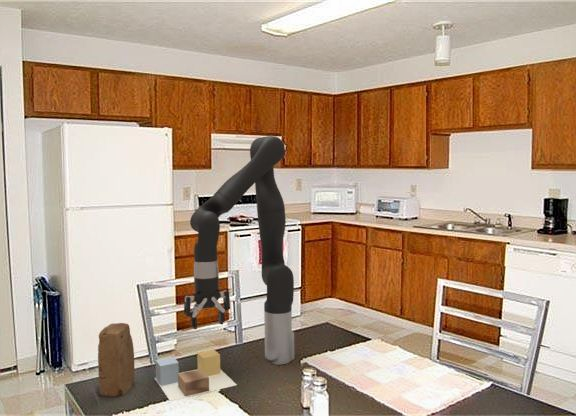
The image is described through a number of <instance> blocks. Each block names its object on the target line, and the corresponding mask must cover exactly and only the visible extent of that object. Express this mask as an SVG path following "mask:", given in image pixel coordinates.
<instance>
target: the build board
mask: <svg viewBox="0 0 576 416" xmlns="http://www.w3.org/2000/svg"><path fill="white" fill-rule="evenodd" d="M193 370H194V369H192V370H191V371H193ZM195 370H198V368H197V369H195ZM188 371H189V370H188ZM188 371H186V372H188ZM184 372H185V371H183V372H181V373H184ZM208 377H209V391H206V392H202V393H198V394H194V395H189V396H185V395H184V394H183V393H182V391H181V390H180V389H179V387H178V382H176V383H172V384H167V385H163V386H161V385H160V384H159V383H158V381H157V380H156V377H154V380H155V381H156V383H157V384H158V386H159V387H160V388H161V390H162V391H163V393H164V394H165V396H166V397H167V399H168V400H169V402H173V401H177V400H180V399H181V400H182V399H185V398H188V397H193V396H198V395H201V394H205V393H210V392H213V391H214V392H215V391H219V390H224V389H227V388H231V387H235V386H238V384H237V383H236V382H235V381H233V379H232V378H230V376H228V375H227V374H226V373H225V372H224V371H223V370H222V369H221V368H220V374H216V375H211V376H208Z"/></svg>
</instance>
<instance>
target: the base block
mask: <svg viewBox="0 0 576 416" xmlns="http://www.w3.org/2000/svg"><path fill="white" fill-rule="evenodd" d="M197 369H198V368H197ZM192 370H193V371H192ZM192 370H188V372H187V371H183V372H184V373H182V372H179V374H178V387H179V389H180V390H181V391H182V393H183V394H184V395H185V396H189V395H194V394H198V393H202V392H206V391H209V377H208V376H207V375H206V374H205V373H204V372H203V371H202V370H201V369H198V370H196V369H192ZM206 393H207V392H206ZM202 394H203V393H202ZM198 395H199V394H198ZM194 396H195V395H194ZM189 397H190V396H189Z"/></svg>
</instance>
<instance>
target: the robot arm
mask: <svg viewBox="0 0 576 416" xmlns="http://www.w3.org/2000/svg"><path fill="white" fill-rule="evenodd" d="M249 148H250V149H249V157H250V161H249V162H247V164H245V165H244V167H242V168H240V169H239V170H238V171H237V172H236V173H234V174H233V175H231V177H229V178H228V179H227V180H226V181H225V182H224V183H223V184H222V185H221V186H220V187H219V188H218V189H217V190H216V192H215V193H214V194H213V195H212V196H211V197H210V198H209V199H207V200H206V201H205V202H204V203H202V205H200V206H199V207H198V208H196V210H195V211H194V212H193V213H192V214H191V217H190V219H189V224H190V227H191V228H192V229H193V230H194V231H195V232H197V234H198V235H197V242H195V244H194V246H193V255H194V257H193V258H194V262H193V280H194V281H193V282H194V285H193V287H194V292H193V295H185V296H184V297H183V300H184V302H183V314H184V316H186V317H190V327H191V328H192V329H193V330H198V318H197V316H198V314H199V312H200V311H201V310H202V309H208V308H214V307H216V309H218V312H217V313H218V315H217V318H218V324H219V325H223V324H224V322H225V321H226V316H225V312H226V311H229V310H231V302H230V301H231V300H230V292H229V291H228V290H226V289H223V290H222V291H220V280H219V279H220V277H219V275H220V271H219V264H218V242H219V237H220V229H221V223H220V220H219V217H221V216H222V215H223V214H226V213H228V212H230V211H231V210H232V209H233V207H235V205H236V204H237V203H238V202H239V201H240V200H241V199H242V197H243V196H244V195H245V194H246V193H247V192H248V190H250V189H251V187H253V185H255V187H254V188H255V198H256V211H257V225H258V231H259V238H260V245H261V279H262V282H263V283H264V284H265V286H266V299H265V302H264V305H263V307H264V308H263V310H264V312H263V313H264V314H263V317H264V318H263V319H264V320H263V321H264V322H263V323H264V360H265V361H267V362H268V363H269V364H271V365H275V366H276V365H286V364H289V363H290V362H292V361H295V332H294V331H293V325H292V324H293V322H292V321H293V319H292V318H293V316H292V313H293V312H292V307H293V306H292V305H293V304H294V296H295V295H294V292H295V290H294V288H295V286H294V284H295V283H294V282H295V281H294V273H293V270H292V269H291V268H290V267H289V266H288V265H286V264H285V263H286V262H285V259H284V251H283V250H284V249H283V243H284V237H285V233H286V232H285V231H286V224H287V223H286V208H285V202H284V199H283V196H282V194H281V192H280V189H279V187H278V185H277V182H276V178H275V170H274V169H275V168H274V167H275V166H276V165H277V164H278V163H279V162H281V160H282V159H283V158H284V156H285V152H286V147H285V144H284V141H283V140H282V139H281V138H280V137H278V136H275V135H267V136H261V137H257V138H255V139H254V140H253V141H252V142H251V145H250V147H249ZM220 298H222V300H223V301H222V302H223V306H222V304H221V303H220V302H219V299H220ZM193 301H195V304H194V305H193V306H192V309H191V304H192V303H193Z"/></svg>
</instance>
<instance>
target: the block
mask: <svg viewBox="0 0 576 416" xmlns="http://www.w3.org/2000/svg"><path fill="white" fill-rule="evenodd" d="M130 329H131V328H130V325H129V324H128V323H125V322H124V323H123V322H119V323H110V324H109V325H107V326H104V328H103V329H101V331H100V332H99V334H98V339H99V340H98V342H99V343H98V345H97V351H98V353H97V363H98V365H97V366H98V370H97V371H98V384H99V385H98V386H99V387H98V388H99V393H100V396H104V397H118V396H125V394H126V393H128V392H129V391H130V390H131V388H132V387H133V384H134V380H135V349H134V342H133V338H132V334H131V330H130Z"/></svg>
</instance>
